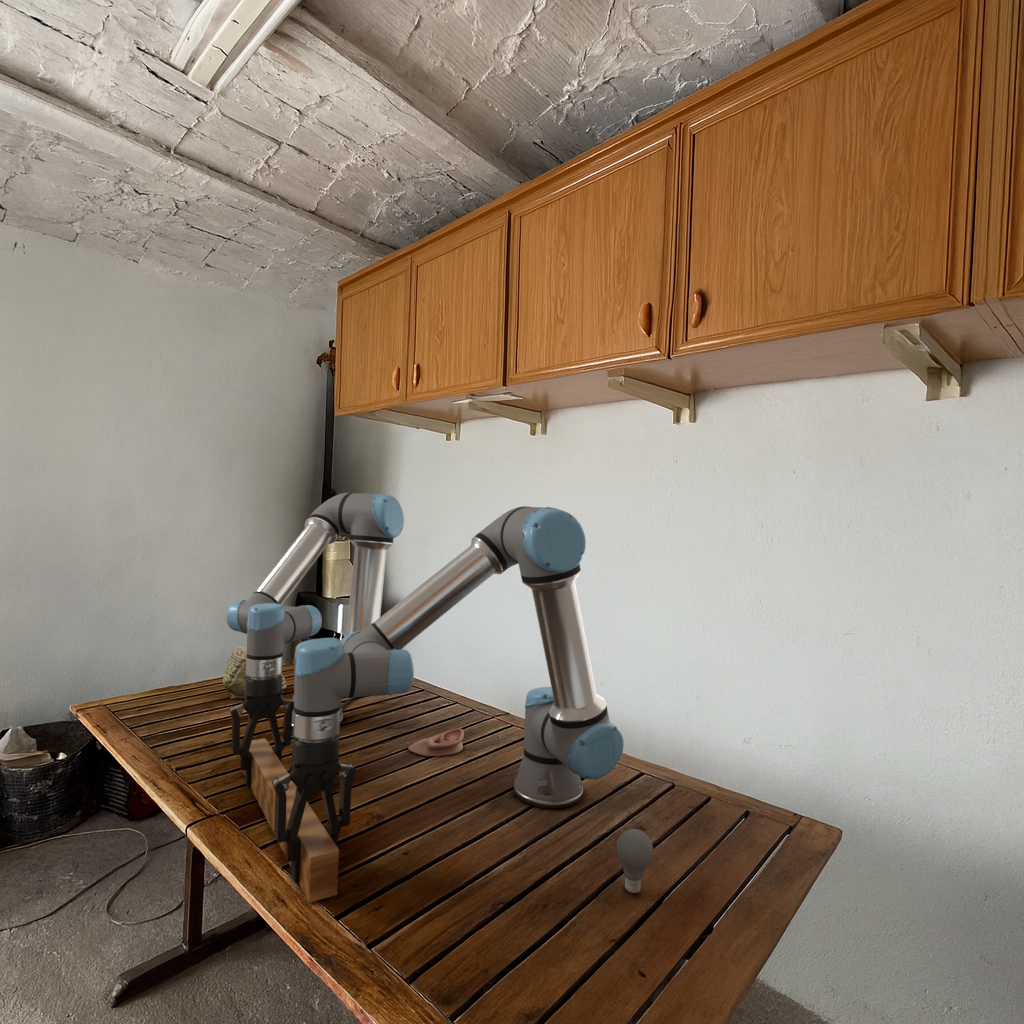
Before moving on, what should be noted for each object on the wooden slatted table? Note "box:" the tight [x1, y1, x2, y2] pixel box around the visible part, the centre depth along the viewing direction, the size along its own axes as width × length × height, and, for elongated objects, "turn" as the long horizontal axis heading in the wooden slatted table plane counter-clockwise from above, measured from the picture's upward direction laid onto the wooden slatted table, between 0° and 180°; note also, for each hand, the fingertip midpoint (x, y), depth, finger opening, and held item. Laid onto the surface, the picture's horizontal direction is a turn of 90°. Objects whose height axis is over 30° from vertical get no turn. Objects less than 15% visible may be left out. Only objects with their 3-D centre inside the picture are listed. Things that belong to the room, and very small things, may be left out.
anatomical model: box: [408, 728, 465, 757], centre depth 162 cm, size 13×4×12 cm
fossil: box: [222, 646, 288, 699], centre depth 198 cm, size 9×18×15 cm, turn 132°
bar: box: [242, 737, 340, 904], centre depth 122 cm, size 53×4×7 cm, turn 33°
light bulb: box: [615, 828, 654, 894], centre depth 106 cm, size 6×6×10 cm
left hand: (260, 781), depth 139 cm, fingers closed on bar, 5 cm apart
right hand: (310, 873), depth 106 cm, fingers closed on bar, 4 cm apart
